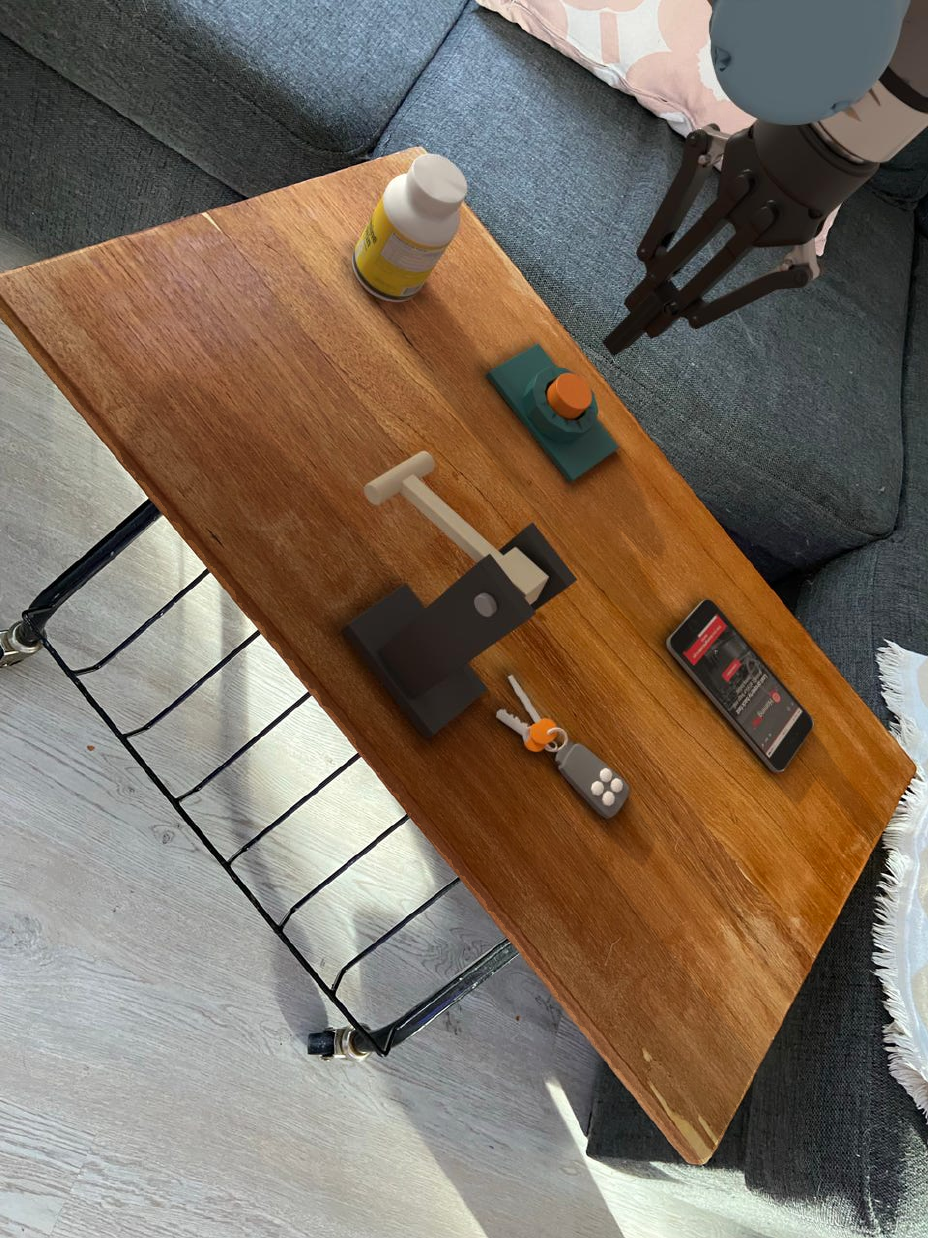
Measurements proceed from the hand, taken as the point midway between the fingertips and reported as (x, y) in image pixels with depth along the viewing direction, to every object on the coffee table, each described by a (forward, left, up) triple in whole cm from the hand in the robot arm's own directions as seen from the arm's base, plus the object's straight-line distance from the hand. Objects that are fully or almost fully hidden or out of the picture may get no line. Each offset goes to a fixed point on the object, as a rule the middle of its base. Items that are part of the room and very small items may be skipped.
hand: (617, 343), depth 79 cm
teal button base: (0, 0, -11) cm, 11 cm away
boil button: (0, 0, -9) cm, 9 cm away
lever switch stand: (+10, -27, -11) cm, 31 cm away
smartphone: (+29, -2, -11) cm, 31 cm away
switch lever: (+6, -27, +3) cm, 28 cm away
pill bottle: (-18, -5, -11) cm, 22 cm away
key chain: (+22, -21, -11) cm, 33 cm away
